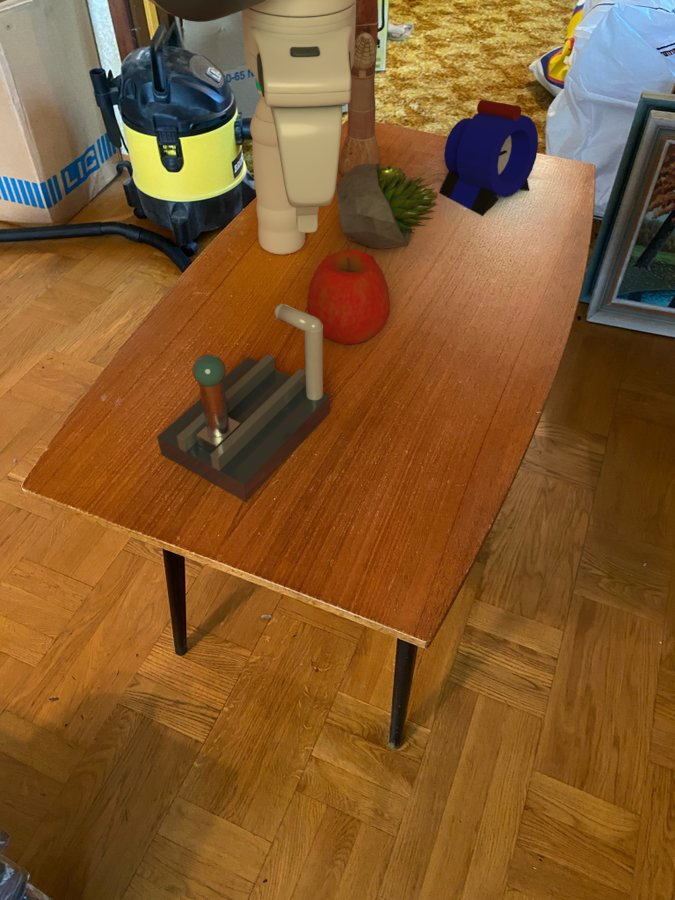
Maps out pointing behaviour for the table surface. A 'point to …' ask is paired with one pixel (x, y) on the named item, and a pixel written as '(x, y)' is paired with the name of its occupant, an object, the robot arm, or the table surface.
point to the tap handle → (213, 402)
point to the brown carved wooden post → (362, 92)
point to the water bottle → (271, 187)
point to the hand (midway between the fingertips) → (302, 201)
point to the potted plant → (381, 205)
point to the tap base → (256, 416)
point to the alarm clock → (489, 156)
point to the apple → (349, 297)
